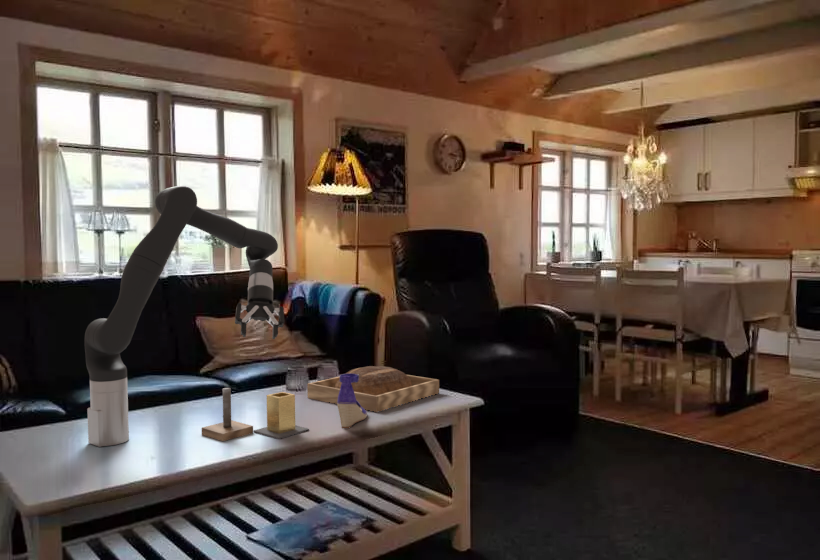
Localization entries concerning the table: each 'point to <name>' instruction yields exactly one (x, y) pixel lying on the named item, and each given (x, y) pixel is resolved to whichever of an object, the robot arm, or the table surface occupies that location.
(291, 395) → the sleeve
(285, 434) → the mat
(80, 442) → the table surface
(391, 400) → the bread tray
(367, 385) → the bread
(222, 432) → the peg stand
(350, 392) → the purple wedge sandal
